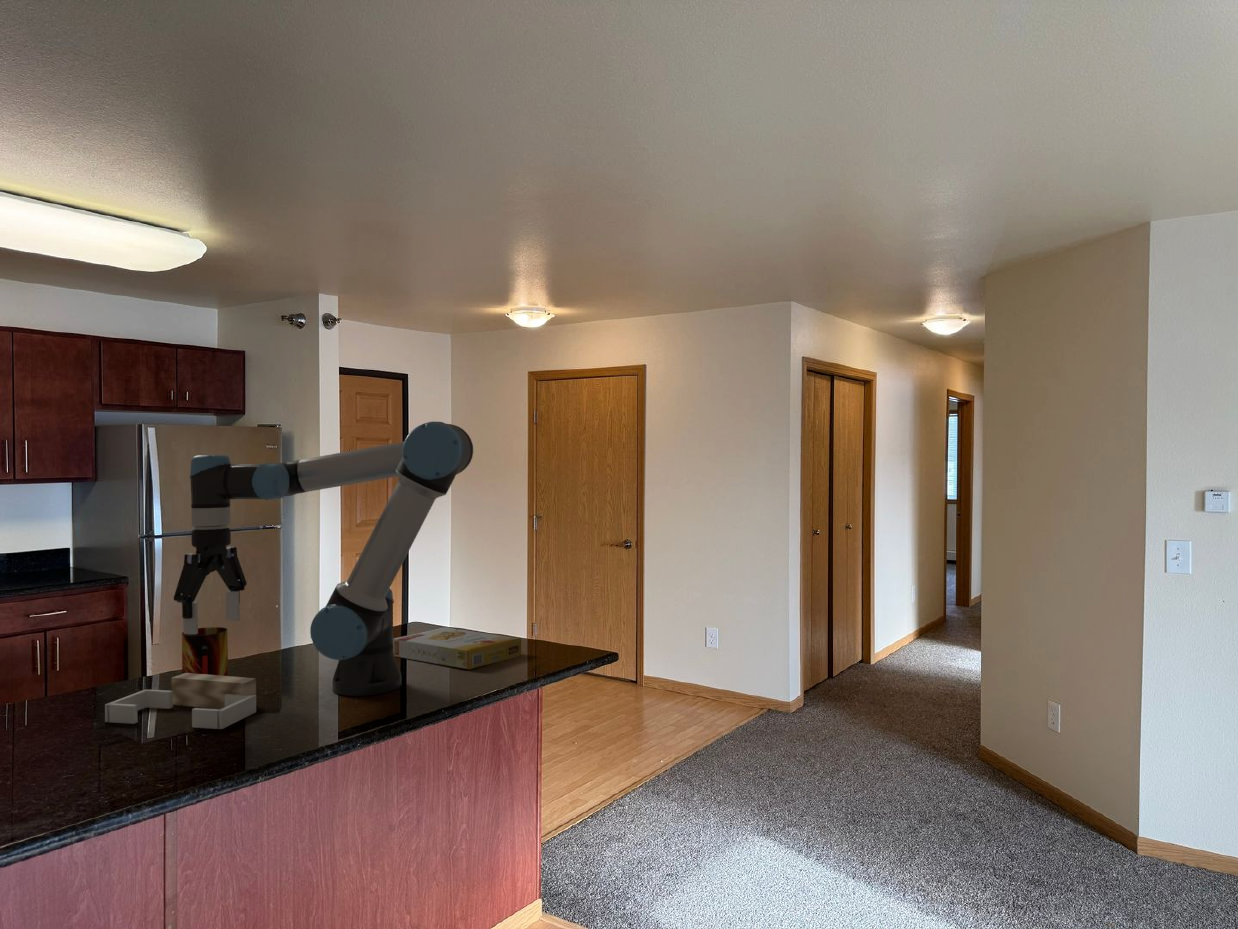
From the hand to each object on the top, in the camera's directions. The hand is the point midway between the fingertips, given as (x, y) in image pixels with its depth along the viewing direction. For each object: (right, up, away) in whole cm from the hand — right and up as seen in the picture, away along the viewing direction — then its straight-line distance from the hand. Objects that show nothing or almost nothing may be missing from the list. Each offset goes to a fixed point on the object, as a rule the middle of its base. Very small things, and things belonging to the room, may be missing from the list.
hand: (212, 627), depth 179 cm
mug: (-9, -17, +17) cm, 25 cm away
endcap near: (+7, -17, -10) cm, 21 cm away
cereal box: (+44, -17, +43) cm, 63 cm away
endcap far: (-12, -17, -6) cm, 21 cm away
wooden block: (0, -17, 0) cm, 17 cm away
